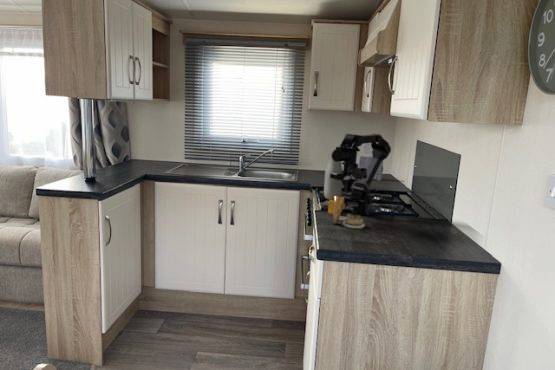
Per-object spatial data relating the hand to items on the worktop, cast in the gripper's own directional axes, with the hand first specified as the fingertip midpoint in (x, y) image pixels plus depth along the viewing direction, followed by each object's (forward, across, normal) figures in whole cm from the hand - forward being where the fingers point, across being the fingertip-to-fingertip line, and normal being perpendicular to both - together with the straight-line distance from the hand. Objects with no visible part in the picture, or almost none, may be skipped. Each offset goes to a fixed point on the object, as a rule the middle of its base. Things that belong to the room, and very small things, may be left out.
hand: (347, 192), depth 192 cm
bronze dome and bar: (+11, -8, -11) cm, 18 cm away
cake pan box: (+12, +92, +79) cm, 122 cm away
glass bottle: (+12, +17, +32) cm, 38 cm away
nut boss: (+12, -6, -13) cm, 19 cm away
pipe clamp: (+12, +3, +10) cm, 16 cm away
